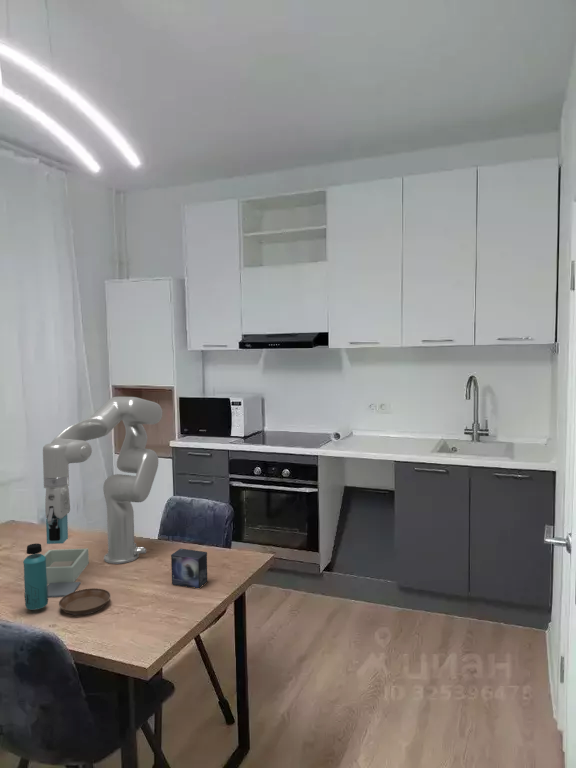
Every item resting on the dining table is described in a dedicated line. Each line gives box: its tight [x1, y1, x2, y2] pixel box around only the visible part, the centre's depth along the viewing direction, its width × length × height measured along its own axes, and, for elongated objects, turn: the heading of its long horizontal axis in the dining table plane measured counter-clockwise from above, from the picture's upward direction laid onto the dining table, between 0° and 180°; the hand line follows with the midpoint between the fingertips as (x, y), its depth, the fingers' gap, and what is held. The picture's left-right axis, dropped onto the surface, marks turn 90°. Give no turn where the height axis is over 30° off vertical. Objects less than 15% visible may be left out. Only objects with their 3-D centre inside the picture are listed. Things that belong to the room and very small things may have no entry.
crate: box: [43, 548, 90, 585], centre depth 195 cm, size 14×18×6 cm
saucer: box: [58, 587, 111, 616], centre depth 170 cm, size 15×15×3 cm
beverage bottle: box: [22, 542, 49, 611], centre depth 167 cm, size 6×7×20 cm
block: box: [45, 514, 69, 545], centre depth 180 cm, size 5×5×8 cm
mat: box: [47, 581, 82, 599], centre depth 181 cm, size 10×10×1 cm
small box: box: [170, 548, 208, 589], centre depth 186 cm, size 11×6×10 cm, turn 70°
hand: (57, 536), depth 180 cm, fingers closed on block, 5 cm apart
